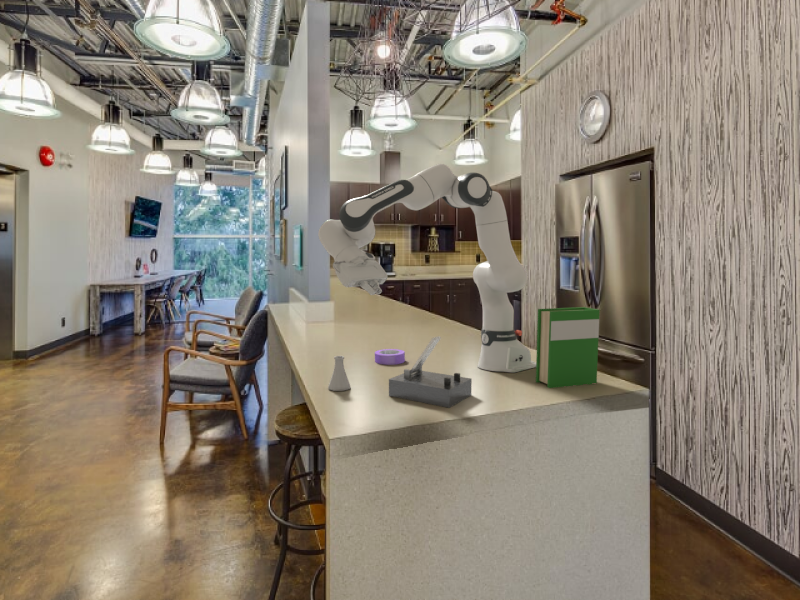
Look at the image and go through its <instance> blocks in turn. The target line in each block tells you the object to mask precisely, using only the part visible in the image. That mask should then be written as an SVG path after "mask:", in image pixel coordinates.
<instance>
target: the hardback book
mask: <svg viewBox="0 0 800 600" xmlns="http://www.w3.org/2000/svg"><path fill="white" fill-rule="evenodd" d="M600 311H601V310H600V309H596V308H591V307H586V306H585V307H583V306H580V307H578V306H577V307H559V308H558V307H557V308H556V307H555V308H554V307H552V308H537V326H536V327H537V328H536V329H537V330H536V331H537V332H536V334H537V335H536V339H537V340H536V360H535V361H536V362H535V363H536V367H535V383H538V384H539V383H544V384H546V385H547V388H548V389H552V388H553V389H554V388H563V387H564V386H566V387H573V385H576V386H584V385H583V384H587V385H593V384H592V383H598V382H597V379H598V377H597V376H598V361H599V359H598V358H599V356H598V355H599V338H600V337H599V334H600V313H601V312H600Z"/></svg>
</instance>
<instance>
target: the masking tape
mask: <svg viewBox="0 0 800 600" xmlns="http://www.w3.org/2000/svg"><path fill="white" fill-rule="evenodd" d="M405 354H406V352H405V350H403V349H397V348H387V349H386V348H385V349H378V350H376V351H374V362H375V363H376V364H379V365H387V366H388V365H389V366H390V365H400V364H403V363H404V362H406V357H405Z"/></svg>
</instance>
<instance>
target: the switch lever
mask: <svg viewBox="0 0 800 600" xmlns="http://www.w3.org/2000/svg"><path fill="white" fill-rule="evenodd" d="M441 339H442V338H441V336H439V335H438V336H435V337H432V338H431V339H430V341H429V342H428V344H427V345H426V347H425V348H424V350H423V351H422V353H421V354H420V356H419V357H418V359H417V360H416V362H415V363H414V364H413V367H411V369H410V370H411V376H413V375H416V374H418V371H419V369H420V368H421V367H422V368H423V365H424V364H425V362H426V361H427V359H428V358H429V357H430V355H431V353H432V352H433V350H434V349H435V347H436V346H437V344H438V343H439V342H440V341H441Z"/></svg>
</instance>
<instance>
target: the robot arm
mask: <svg viewBox="0 0 800 600" xmlns="http://www.w3.org/2000/svg"><path fill="white" fill-rule="evenodd" d="M488 181H489V180H487V178H486V177H485V176H484V175H483V174H481V173H478V172H468V173H465V174H464V173H463V174H460V175H455V174H454V173H453V171H452V169H451V167H449V166H448V165H447V164H444V163H438V164H434V165H432V166H429V167H427V168H425V169H422V171H419V172H418V173H416V174H414V175H413V176H411V177H409V178H406V179H400V180H399V179H398V180H397V181H394V182H392V183H390V184H388V185H386V186H382V187H381V188H379V189H377V190H375V191H373V192H371V193H369V194H367V195H363V196H360V197H355V198H351V199H349V200H347V201H345V202H344V203H343V204H342V206H341V207H340V209H339V213H338V218H339V219H327V220H325V222H324V221H323V223H322V224H321V225H320V227H319V230H318V239H319V241H320V243H321V245H322V246H323V248H324V249H325V251H326V252H327V253H328V255H330V256H331V257H332V258H333V260H334V261H333V263H332V268H333V269H334V270H335V271H334V272H335V275H336V277H337V278H338V280H339V281H340V283H341V285H342V286H343V287H346V288H352V287H354V288H356V287H360V288H361V289H362V290H364V291H366V292H367V293H368V294H369V295H370V296H375V295H380V294H381V293H382V292H383V290H382V288H381V287H380V285H383V284H384V283H385V282H386V281H387V280H388V274H387V272H386V271H385V269H384V268H383V267H382V265H381V264H380V263H379V262H378V261H377V260H376V257H375V256H374V254H373V253H369V252H367V251H365V250H363V249H362V248H364V247H365V246H368V245H370V243H372V242H373V241H374V240H375V237H376V227H375V222H374V217H375V215H376V214H378V213H380V212H381V211H383V210H385V209H387V208H390V207H391V206H393V205H395V204H399V203H400V204H403V206H405V208H407V209H408V210H412V211H419V210H423V209H425V208H427V207H428V206H430V205H432V204H433V203H435V202H436V201H438V200H439V199H441V198H442V200H443V201H445V204H447V205H449V206H450V207H451V208H454V209H465V208H470V209H471V211H472V213H473V214H474V219H475V227H476V234H477V242H478V246H479V248H480V250H481V252H483V254H484V256H485V257H486V261H483V262H480V263H479V264H477V265H476V266H475V267H474V268H473V272H472V279H473V282H474V283H475V284H476V286H477V289H478V291H479V296H480V301H481V305H482V307H481V308H482V328H481V333H480V338H481V348H480V354H479V359H478V362H477V368H479V369H482V370H485V371H491V372H505V373H518V372H522V371H525V370H530V369H532V368H536V362H535V361H533V360H532V357H531V351H530V349H529V348H528V347H527V346H526V345H525V344H523V343H522V342H521V341H519V340H518V337H517V336H519V337H521V336H522V335H523V332H522V330H519V329H516V330H515V329H514V316H515V315H514V314H515V313H514V312H515V311H514V306H513V305H512V303H511V302H510V299H509V296H508V293H509V294H510V293H514V292H519V291H521V290H522V289H523V288H525V286H526V284H527V282H528V279H529V278H528V276H529V275H528V271H527V270H526V268H525V266H524V265H522V264H521V263H520V261H519V260H518V256H517V255H516V252H515V250H514V247H513V246H512V242H511V236H510V230H509V224H508V223H509V222H508V216H507V211H506V207H505V203H504V200H503V197H502V195H501V194H500V193H499V192H498V191H494V190H493V189H492V187H491V186H490V183H489V182H488Z"/></svg>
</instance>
